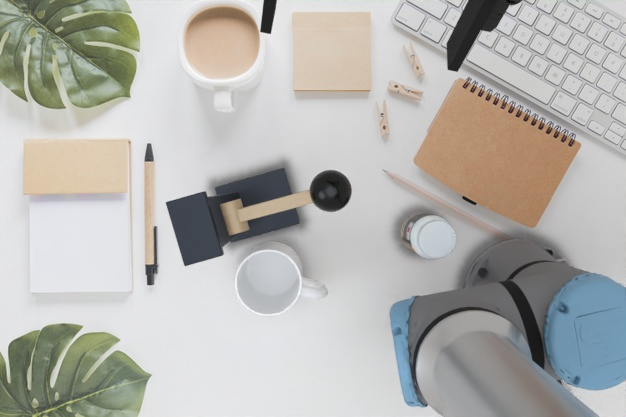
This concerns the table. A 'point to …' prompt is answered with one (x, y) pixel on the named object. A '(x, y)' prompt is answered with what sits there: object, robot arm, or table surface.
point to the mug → (273, 280)
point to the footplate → (258, 192)
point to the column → (200, 226)
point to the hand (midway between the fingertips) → (361, 39)
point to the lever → (292, 201)
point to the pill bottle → (428, 235)
